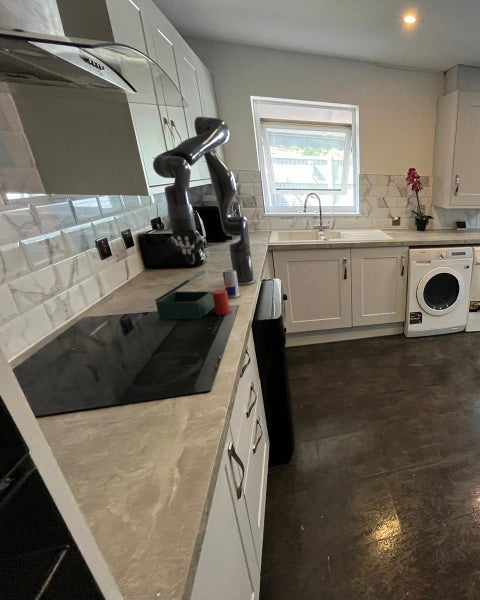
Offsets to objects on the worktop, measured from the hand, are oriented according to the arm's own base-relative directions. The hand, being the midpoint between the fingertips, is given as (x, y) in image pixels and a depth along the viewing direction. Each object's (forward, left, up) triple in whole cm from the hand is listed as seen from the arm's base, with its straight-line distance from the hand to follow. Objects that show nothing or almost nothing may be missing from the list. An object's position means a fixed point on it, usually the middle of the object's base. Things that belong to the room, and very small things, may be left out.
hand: (190, 263), depth 122 cm
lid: (0, -5, -9) cm, 10 cm away
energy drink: (-19, +6, -20) cm, 28 cm away
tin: (0, +9, -20) cm, 22 cm away
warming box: (0, -4, -20) cm, 21 cm away
